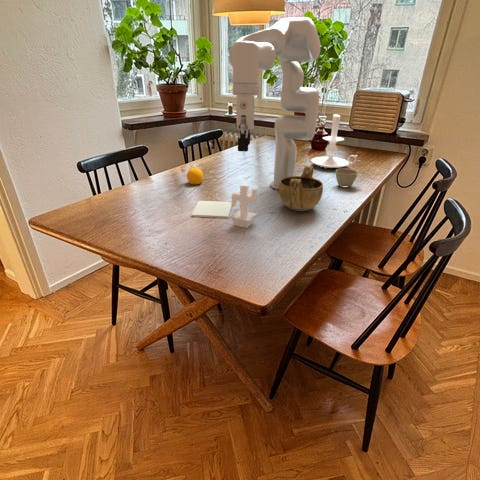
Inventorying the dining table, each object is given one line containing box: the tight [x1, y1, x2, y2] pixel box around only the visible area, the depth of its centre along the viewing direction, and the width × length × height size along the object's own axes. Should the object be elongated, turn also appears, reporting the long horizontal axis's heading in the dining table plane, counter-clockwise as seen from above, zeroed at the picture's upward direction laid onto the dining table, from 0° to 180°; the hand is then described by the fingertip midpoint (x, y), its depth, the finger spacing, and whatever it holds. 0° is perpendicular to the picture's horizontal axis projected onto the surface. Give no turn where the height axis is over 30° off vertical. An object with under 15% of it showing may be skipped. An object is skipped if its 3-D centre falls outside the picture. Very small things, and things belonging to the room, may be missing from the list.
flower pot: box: [335, 168, 359, 187], centre depth 153 cm, size 10×10×7 cm
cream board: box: [191, 200, 233, 219], centre depth 128 cm, size 14×14×1 cm
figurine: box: [229, 183, 258, 229], centre depth 114 cm, size 7×9×15 cm
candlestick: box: [310, 113, 358, 169], centre depth 175 cm, size 21×25×28 cm
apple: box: [186, 167, 205, 185], centre depth 155 cm, size 8×8×8 cm
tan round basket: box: [278, 165, 324, 212], centre depth 127 cm, size 22×17×15 cm
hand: (244, 147), depth 105 cm, fingers open, 9 cm apart
